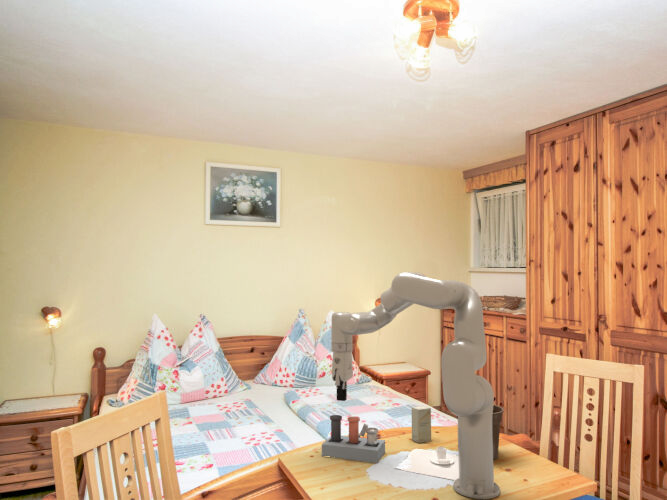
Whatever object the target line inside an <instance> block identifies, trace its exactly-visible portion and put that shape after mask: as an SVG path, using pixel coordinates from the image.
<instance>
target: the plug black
mask: <svg viewBox="0 0 667 500" xmlns="http://www.w3.org/2000/svg"><path fill="white" fill-rule="evenodd" d="M342 420H343V416H342V415H341V414H332V415H329V421H330V431H331V432H330V436H331V441H334V442H338V441H341V436H342V428H341V427H342Z"/></svg>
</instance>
